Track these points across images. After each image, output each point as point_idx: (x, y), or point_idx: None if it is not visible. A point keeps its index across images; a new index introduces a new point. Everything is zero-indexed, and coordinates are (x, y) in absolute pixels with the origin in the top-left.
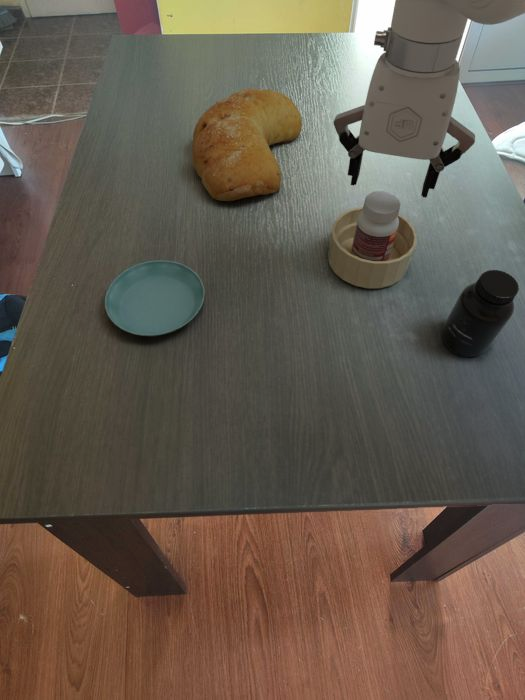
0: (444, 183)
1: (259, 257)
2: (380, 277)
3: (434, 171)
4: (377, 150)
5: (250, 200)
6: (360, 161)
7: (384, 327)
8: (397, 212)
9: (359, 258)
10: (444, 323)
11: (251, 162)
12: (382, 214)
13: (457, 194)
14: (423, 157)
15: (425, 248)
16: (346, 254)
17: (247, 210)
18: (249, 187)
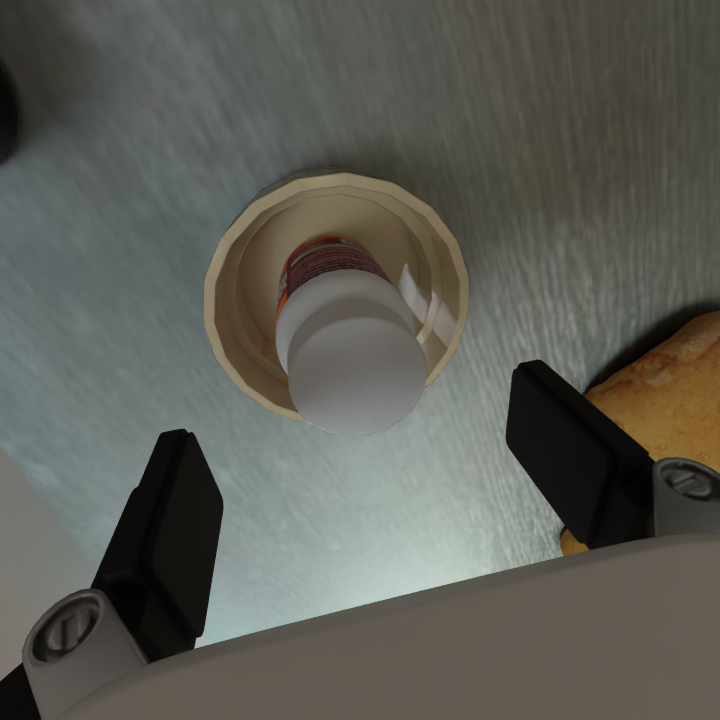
0: (260, 556)
1: (601, 170)
2: (267, 189)
3: (106, 581)
4: (637, 571)
5: (636, 349)
6: (574, 471)
7: (184, 26)
8: (288, 364)
9: (351, 181)
10: (2, 100)
11: (715, 414)
12: (338, 319)
13: (224, 544)
14: (144, 696)
15: (217, 385)
16: (398, 186)
17: (641, 317)
18: (683, 355)
